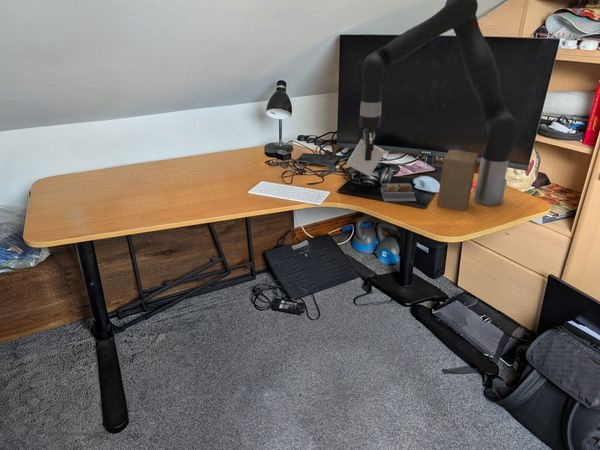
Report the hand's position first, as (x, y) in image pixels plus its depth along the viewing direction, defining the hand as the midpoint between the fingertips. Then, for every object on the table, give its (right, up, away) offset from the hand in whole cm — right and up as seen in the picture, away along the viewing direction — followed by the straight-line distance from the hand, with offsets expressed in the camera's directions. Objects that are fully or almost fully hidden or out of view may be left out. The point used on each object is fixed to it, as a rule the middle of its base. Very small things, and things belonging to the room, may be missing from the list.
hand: (367, 158), depth 172 cm
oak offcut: (+10, -14, +3) cm, 17 cm away
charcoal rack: (+12, -14, +4) cm, 19 cm away
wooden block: (+31, -18, -3) cm, 36 cm away
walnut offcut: (+15, -14, +2) cm, 20 cm away
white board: (-3, -4, +2) cm, 5 cm away
